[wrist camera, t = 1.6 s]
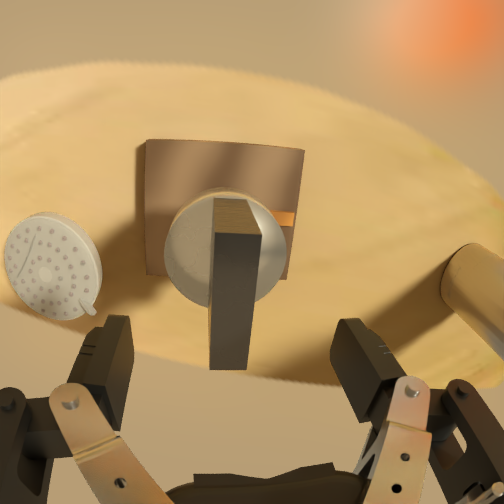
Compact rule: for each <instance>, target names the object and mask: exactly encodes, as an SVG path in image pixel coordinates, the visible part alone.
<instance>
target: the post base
mask: <svg viewBox="0 0 504 504" xmlns="http://www.w3.org/2000/svg"><path fill="white" fill-rule="evenodd" d="M304 153H305V150H302V149H297V148H288V147H279V146H269V145H259V144H248V143H235V142H220V141H201V140H172V139H148V140H146V154H145V253H146V275H158V276H169V275H168V273H167V270H166V266H165V261H164V247H165V242H166V238H167V236H168V233H169V230H170V227H171V224H172V222H173V219H174V217H175V215H176V213H177V212H178V211H179V209H180V208H181V207H182V206H183V205H184V203H185V202H186V201H188V200H189V199H190V198H192V197H193V196H195V195H197V194H198V193H200V192H203V191H205V190H209V189H212V188H219V187H230V188H236V189H240V190H244V191H246V192H248V193H250V194H252V195H254V196H256V197H257V198H258V199H260V200H261V201H262V202H263V203H264V204H265V205H266V206H267V207H268V209H269V210H270V212H271V213H272V215H273V216H274V218H275V219H276V221H277V222H278V224H279V226H280V228H281V230H282V232H283V234H284V237H285V241H286V249H287V256H286V263H285V267H284V270H283V273H282V275H281V277H280V279H279V280H286V279H287V273H288V267H289V260H290V254H291V247H292V241H293V234H294V227H295V220H296V213H297V206H298V199H299V191H300V184H301V176H302V169H303V161H304Z"/></svg>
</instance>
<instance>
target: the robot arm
mask: <svg viewBox="0 0 504 504" xmlns="http://www.w3.org/2000/svg"><path fill="white" fill-rule="evenodd" d="M440 290H441V296H442V299H443V300H444V302H445V303H446V304H447V305H448V306H449V307H450V308H451V309H453V310H454V311H455V312H456V313H457V314H458V315H459V316H460V317H461V318H462V319H463V320H464V321H465V322H466V323H467V324H468V325H469V326H470V327H471V328H472V329H473V330H474V331H475V332H476V333H477V334H478V335H479V336H480V337H481V338H482V339H483V340H484V341H485V342H486V343H487V344H488V345H489V346H490V347H491V348H492V349H493V350H494V351H495V352H496V353H497V354H498V355H499V356H500V357H501V358H502V360H503V361H504V260H503V259H502V258H500V257H499V256H497V255H496V254H494V253H493V252H491V251H489V250H488V249H486V248H485V247H483V246H481V245H479V244H476V243H473V244H468V245H466V246H464V247H463V248H462V249H460V250H459V251H458V252H457V253H456V254H455V255H454V256H453V258H452V259H451V260H450V262H449V264H448V265H447V267H446V269H445V272H444V274H443V277H442V281H441V288H440ZM330 361H331V364H332V366H333V368H334V370H335V372H336V374H337V377H338V379H339V381H340V383H341V385H342V387H343V389H344V391H345V393H346V395H347V398H348V400H349V402H350V404H351V406H352V408H353V410H354V412H355V414H356V417H357V419H358V421H359V423H364V422H369V421H371V423H372V427H371V429H370V430H369V433H368V436H367V439H366V442H365V445H364V447H363V450H362V453H361V455H360V458H359V460H358V463H357V465H356V467H355V469H354V471H353V473H349V472H345V471H335V468H334V465H333V463H332V462H331V463H326V464H319V465H313V466H307V467H300V468H298V469H295V470H292V471H290V472H287V473H284V474H281V475H278V476H275V477H272V478H268V479H263V478H254V477H248V476H241V475H235V474H193V475H194V482H192V483H187V484H184V485H181V486H177V487H175V488H173V489H171V490H169V491H167V492H164V491H163V490H162V489H161V488H160V487H159V486H158V484H157V483H156V482H155V481H154V479H153V478H152V477H151V476H150V475H149V473H148V472H147V471H146V470H145V468H144V467H143V466H142V465H141V463H140V462H139V461H138V459H137V458H136V457H135V455H134V454H133V453H132V451H131V450H130V448H129V447H128V446H127V444H126V443H125V442H124V440H123V439H122V438H121V437H120V436H117V435H116V434H115V433H114V431H120V429H121V423H122V417H123V412H124V407H125V402H126V396H127V392H128V387H129V382H130V377H131V373H132V368H133V363H134V346H133V339H132V332H131V325H130V318H129V316H124V315H110V314H109V315H108V317H107V320H106V322H105V324H104V327H95V328H94V329H93V330H91V331H90V332H89V333H88V334H87V335H86V337H85V340H84V342H83V345H82V347H81V349H80V351H79V354H78V356H77V358H76V361H75V363H74V365H73V368H72V370H71V373H70V376H69V378H68V380H67V383H65V384H62V385H60V386H58V387H57V388H55V389H54V390H53V391H52V393H51V394H50V396H49V397H45V398H33V399H26V398H25V395H24V394H23V393H22V391H20V390H19V389H16V388H12V387H8V388H3V389H1V390H0V504H47V496H48V490H49V483H50V478H51V472H52V467H53V462H54V458H64V457H73V458H74V460H75V462H76V464H77V465H78V467H79V469H80V471H81V473H82V474H83V476H84V478H85V480H86V481H87V483H88V485H89V486H90V488H91V490H92V491H93V493H94V494H95V496H96V497H97V499H98V501H99V502H100V504H419V501H420V497H421V492H422V488H423V483H424V479H425V474H426V469H427V463H428V461H429V463H430V465H431V467H432V469H433V471H434V473H435V476H436V478H437V480H438V482H439V484H440V486H441V489H442V491H443V493H444V495H445V498H446V500H447V502H448V504H504V430H503V428H502V427H501V425H500V424H499V422H498V421H497V419H496V418H495V416H494V415H493V413H492V412H491V411H490V409H489V408H488V406H487V405H486V403H485V402H484V401H483V399H482V398H481V396H480V395H479V394H478V392H477V391H476V389H475V388H474V387H473V386H472V385H471V384H470V383H468V382H467V381H464V380H461V379H454V380H452V381H450V382H449V384H448V386H447V387H446V389H429V387H428V385H427V384H426V383H425V382H424V381H422V380H421V379H419V378H417V377H414V376H407V375H406V373H405V372H404V370H403V369H402V367H401V366H400V365H399V363H398V362H397V360H396V359H395V357H394V356H393V354H392V353H390V350H389V349H388V347H386V345H385V343H384V342H383V340H382V339H381V338H380V336H378V335H377V334H376V333H374V332H373V331H372V330H370V329H369V330H367V328H366V327H365V325H364V324H363V322H362V321H361V320H360V319H359V318H349V319H340V320H339V322H338V325H337V328H336V332H335V335H334V339H333V342H332V345H331V349H330ZM456 427H458V429H459V430H460V432H461V433H462V435H463V437H464V439H465V441H466V444H467V448H466V451H465V453H464V452H463V450H462V449H461V447H460V445H459V443H458V441H457V439H456V438H455V436H454V434H453V431H454V430H455V428H456ZM113 430H114V431H113Z"/></svg>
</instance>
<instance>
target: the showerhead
mask: <svg viewBox="0 0 504 504" xmlns="http://www.w3.org/2000/svg"><path fill="white" fill-rule="evenodd" d="M5 265H6V271H7V274H8V277H9V280H10V282H11V284H12V286H13V288H14V290H15V291H16V293H17V294H18V295H19V297H20V298H21V299H22V300H23V301H24V302H25V303H26V304H27V305H28V306H29V307H30V308H32V309H33V310H34V311H36V312H37V313H39V314H41V315H43V316H45V317H48V318H51V319H55V320H71V319H75V318H78V317H80V316H82V315H83V314H85V313H86V312H87V313H88V314H89V315H95V314H96V313H97V312H96V310H95V309H94V307H93V306H92V305H93V304H94V302H95V300H96V298H97V296H98V293H99V291H100V288H101V284H102V265H101V260H100V257H99V254H98V251H97V249H96V247H95V245H94V243H93V242H92V240H91V238H90V237H89V236H88V234H87V233H86V232H85V231H84V230H83V229H82V228H81V227H80V226H79V225H78V224H77V223H75V222H74V221H72V220H71V219H69V218H67V217H65V216H63V215H60V214H57V213H52V212H41V213H37V214H34V215H31V216H30V217H28V218H26V219H24V220H23V221H21V222H20V223H18V224H17V225H16V226H15V227H14V228H13V230H12V231H11V233H10V235H9V237H8V239H7V242H6V246H5Z"/></svg>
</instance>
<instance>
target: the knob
mask: <svg viewBox="0 0 504 504" xmlns="http://www.w3.org/2000/svg"><path fill="white" fill-rule="evenodd" d="M286 256H287V249H286V241H285V237H284V234H283V232H282V230H281V228H280V226H279V224H278V222H277V221H276V219H275V218H274V216H273V215H272V213H271V212H270V210H269V209H268V207H267V206H266V205H265V204H264V203H263V202H262V201H261V200H260V199H258V198H257V197H256V196H254V195H252V194H250V193H248V192H246V191H244V190H240V189H236V188H230V187H219V188H212V189H209V190H205V191H203V192H200V193H198V194H197V195H195V196H193V197H192V198H190V199H189V200H188V201H186V202H185V203H184V205H183V206H182V207H181V208H180V209H179V211H178V212H177V213H176V215H175V217H174V219H173V222H172V224H171V227H170V230H169V233H168V236H167V238H166V242H165V247H164V261H165V266H166V270H167V273H168V275H169V278H170V279H171V281H172V283H173V284H174V286H175V287H176V288H177V289H178V290H179V291H180V292H181V293H182V294H183V295H184V296H185V297H186V298H188V299H189V300H191V301H193V302H194V303H197V304H199V305H201V306H204V307H207V308H208V327H209V368H210V370H246V369H247V361H248V353H249V345H250V336H251V328H252V319H253V311H254V303H255V302H256V301H258V300H259V299H261V298H262V297H264V296H265V295H266V294H267V293H268V292H270V291H271V289H272V288H273V287H274V286H275V285H276V283H277V282H278V280H279V279H280V277H281V275H282V273H283V270H284V267H285V263H286Z"/></svg>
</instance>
